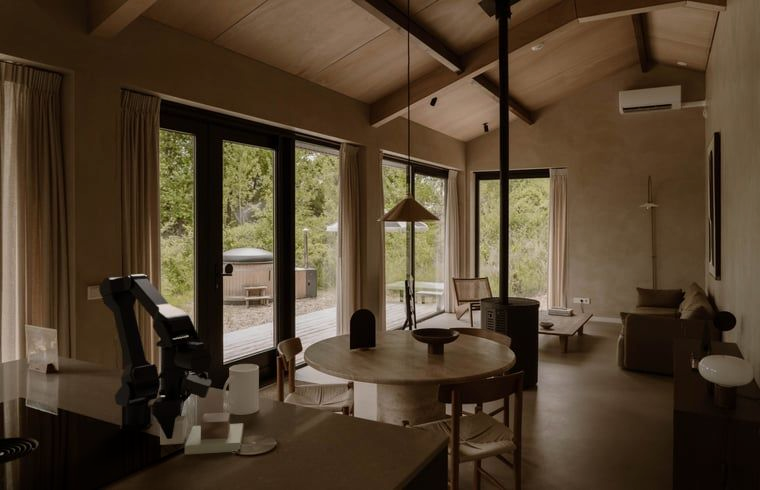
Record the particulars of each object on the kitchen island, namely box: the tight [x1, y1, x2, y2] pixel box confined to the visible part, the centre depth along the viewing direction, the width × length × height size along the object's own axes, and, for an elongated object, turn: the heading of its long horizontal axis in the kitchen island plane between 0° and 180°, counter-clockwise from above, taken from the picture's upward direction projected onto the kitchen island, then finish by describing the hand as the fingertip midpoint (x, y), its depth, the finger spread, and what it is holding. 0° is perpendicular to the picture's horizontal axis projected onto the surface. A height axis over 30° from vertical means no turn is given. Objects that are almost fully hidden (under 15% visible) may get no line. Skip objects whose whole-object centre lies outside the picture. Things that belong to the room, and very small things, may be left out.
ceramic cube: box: [159, 415, 187, 446], centre depth 126 cm, size 5×5×5 cm
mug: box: [222, 363, 260, 416], centre depth 147 cm, size 12×8×12 cm
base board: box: [184, 422, 244, 455], centre depth 125 cm, size 12×12×2 cm
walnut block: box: [200, 411, 231, 440], centre depth 125 cm, size 6×6×4 cm
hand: (173, 431), depth 126 cm, fingers open, 9 cm apart
